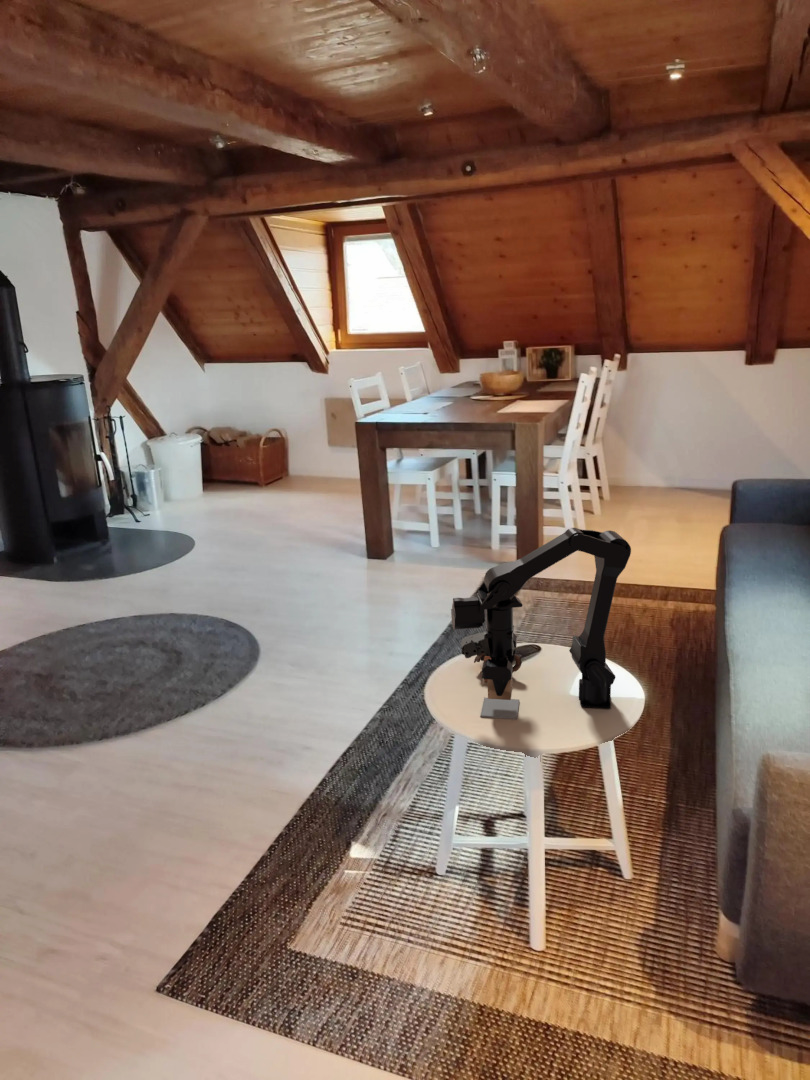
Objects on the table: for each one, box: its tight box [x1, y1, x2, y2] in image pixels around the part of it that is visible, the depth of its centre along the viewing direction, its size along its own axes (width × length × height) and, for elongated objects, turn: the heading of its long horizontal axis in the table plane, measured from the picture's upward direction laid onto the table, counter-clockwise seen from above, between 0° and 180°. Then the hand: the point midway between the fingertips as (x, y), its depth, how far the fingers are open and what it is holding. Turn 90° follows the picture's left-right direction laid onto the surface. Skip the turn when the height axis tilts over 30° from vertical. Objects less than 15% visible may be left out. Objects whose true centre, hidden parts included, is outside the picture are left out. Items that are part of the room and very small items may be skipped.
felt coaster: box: [480, 696, 520, 720], centre depth 174 cm, size 8×8×1 cm
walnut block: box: [487, 678, 513, 700], centre depth 172 cm, size 5×5×5 cm
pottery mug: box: [473, 653, 523, 683], centre depth 189 cm, size 12×10×8 cm
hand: (500, 689), depth 172 cm, fingers closed on walnut block, 5 cm apart
